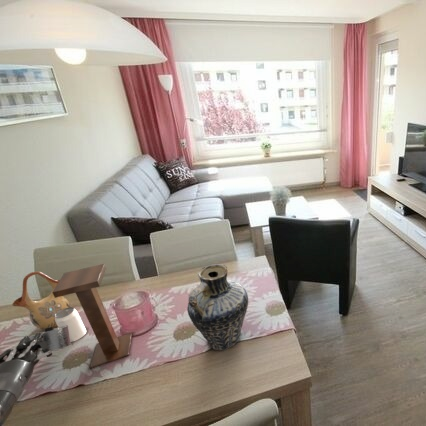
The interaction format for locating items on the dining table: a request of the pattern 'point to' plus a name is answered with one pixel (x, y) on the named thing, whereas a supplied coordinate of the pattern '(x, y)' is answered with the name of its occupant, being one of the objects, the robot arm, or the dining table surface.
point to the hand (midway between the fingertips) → (33, 336)
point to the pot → (51, 339)
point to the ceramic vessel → (42, 304)
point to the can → (71, 322)
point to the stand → (95, 312)
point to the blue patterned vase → (218, 307)
